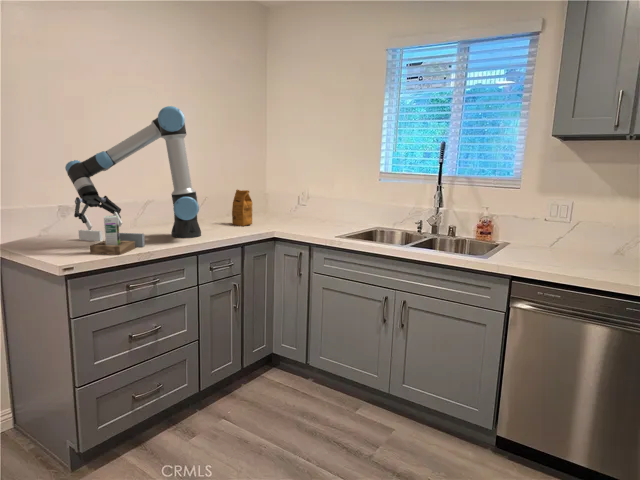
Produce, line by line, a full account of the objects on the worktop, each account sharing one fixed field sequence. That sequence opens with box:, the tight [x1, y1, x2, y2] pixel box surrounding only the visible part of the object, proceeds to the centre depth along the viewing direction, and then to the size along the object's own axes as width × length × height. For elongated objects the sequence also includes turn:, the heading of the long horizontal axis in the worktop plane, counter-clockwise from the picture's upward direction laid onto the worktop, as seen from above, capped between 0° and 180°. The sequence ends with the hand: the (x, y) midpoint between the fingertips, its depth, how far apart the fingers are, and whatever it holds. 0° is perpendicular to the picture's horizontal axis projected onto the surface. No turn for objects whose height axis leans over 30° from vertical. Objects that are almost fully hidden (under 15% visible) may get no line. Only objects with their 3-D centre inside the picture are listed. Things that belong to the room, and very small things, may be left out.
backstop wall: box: [119, 232, 146, 248], centre depth 204 cm, size 16×2×6 cm, turn 86°
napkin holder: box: [78, 229, 104, 242], centre depth 217 cm, size 15×11×6 cm
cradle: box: [89, 240, 136, 256], centre depth 192 cm, size 13×13×4 cm
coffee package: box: [231, 188, 253, 227], centre depth 275 cm, size 10×12×22 cm
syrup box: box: [103, 215, 120, 245], centre depth 191 cm, size 6×6×14 cm
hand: (106, 226), depth 193 cm, fingers open, 13 cm apart
